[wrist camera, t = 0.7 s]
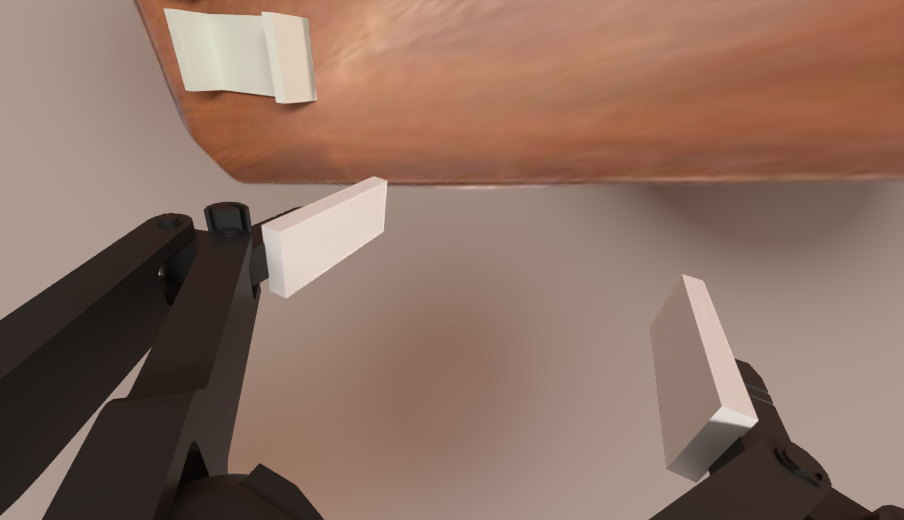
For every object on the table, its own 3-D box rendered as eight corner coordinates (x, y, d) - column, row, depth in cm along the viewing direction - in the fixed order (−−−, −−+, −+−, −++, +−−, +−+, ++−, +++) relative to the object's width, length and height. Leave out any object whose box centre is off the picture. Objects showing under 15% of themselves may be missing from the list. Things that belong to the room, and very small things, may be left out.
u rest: (206, 14, 48) (163, 8, 43) (308, 18, 43) (271, 12, 38) (223, 88, 52) (185, 90, 48) (317, 100, 47) (285, 103, 43)
